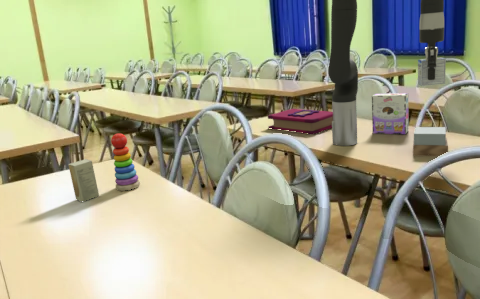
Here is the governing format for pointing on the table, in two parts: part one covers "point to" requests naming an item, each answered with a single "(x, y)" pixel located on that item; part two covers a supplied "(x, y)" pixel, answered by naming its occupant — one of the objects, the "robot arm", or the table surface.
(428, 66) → the robot arm
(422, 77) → the medicine box
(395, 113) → the candy box
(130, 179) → the stacking toy
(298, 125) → the book
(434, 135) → the slate top block
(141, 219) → the table surface
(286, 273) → the table surface
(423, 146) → the walnut base block
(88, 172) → the skincare box
